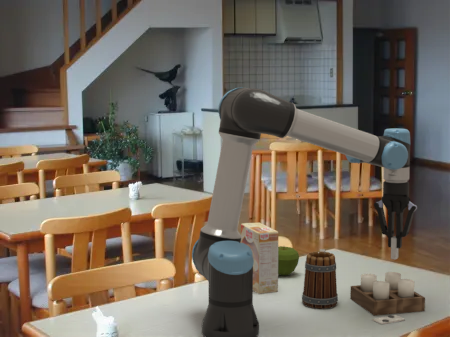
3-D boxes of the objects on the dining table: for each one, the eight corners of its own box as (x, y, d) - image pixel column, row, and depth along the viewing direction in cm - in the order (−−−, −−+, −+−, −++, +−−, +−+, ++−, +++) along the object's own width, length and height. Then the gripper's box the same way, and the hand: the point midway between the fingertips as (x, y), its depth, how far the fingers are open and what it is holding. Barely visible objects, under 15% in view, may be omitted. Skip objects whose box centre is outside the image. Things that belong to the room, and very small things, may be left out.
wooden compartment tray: (373, 315, 209) (374, 301, 208) (350, 298, 224) (350, 286, 224) (424, 311, 213) (425, 297, 212) (398, 294, 228) (398, 282, 228)
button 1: (364, 294, 218) (365, 278, 217) (357, 290, 222) (358, 274, 222) (378, 293, 219) (379, 277, 218) (371, 289, 224) (372, 273, 223)
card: (380, 324, 201) (381, 322, 201) (372, 320, 205) (372, 318, 205) (404, 320, 205) (404, 318, 204) (395, 316, 208) (395, 314, 208)
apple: (263, 271, 254) (263, 243, 253) (291, 269, 257) (291, 241, 256) (274, 280, 244) (274, 250, 242) (304, 277, 247) (304, 248, 245)
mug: (336, 310, 213) (338, 260, 211) (300, 308, 215) (301, 258, 213) (339, 294, 228) (340, 247, 226) (305, 292, 230) (306, 245, 228)
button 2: (377, 303, 210) (377, 286, 210) (370, 298, 215) (370, 281, 214) (391, 301, 211) (392, 284, 211) (384, 297, 216) (384, 280, 215)
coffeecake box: (239, 281, 242) (240, 223, 240) (259, 279, 245) (260, 221, 242) (257, 294, 228) (258, 232, 226) (278, 292, 231) (279, 231, 228)
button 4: (402, 300, 212) (403, 283, 212) (394, 296, 217) (395, 279, 216) (416, 299, 214) (417, 282, 213) (408, 294, 218) (409, 278, 217)
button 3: (389, 292, 220) (389, 276, 219) (382, 288, 224) (382, 272, 224) (403, 291, 221) (403, 275, 221) (395, 287, 226) (396, 271, 225)
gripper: (370, 181, 219) (369, 258, 222) (414, 184, 212) (412, 263, 215) (379, 177, 225) (377, 253, 228) (421, 180, 218) (419, 258, 222)
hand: (394, 258), depth 222 cm, fingers closed
